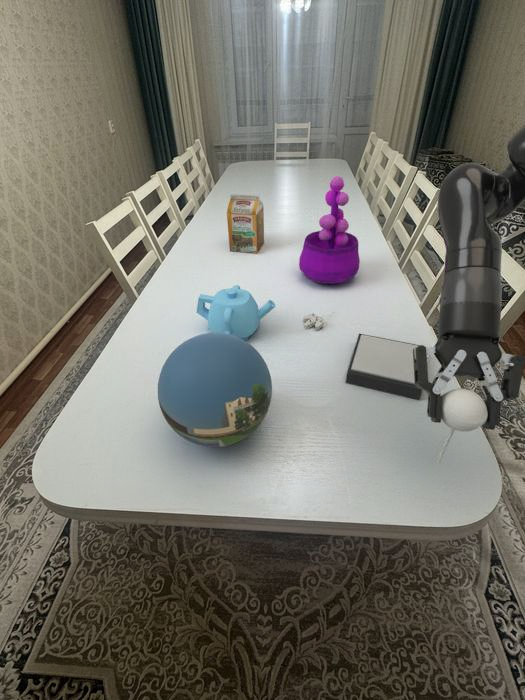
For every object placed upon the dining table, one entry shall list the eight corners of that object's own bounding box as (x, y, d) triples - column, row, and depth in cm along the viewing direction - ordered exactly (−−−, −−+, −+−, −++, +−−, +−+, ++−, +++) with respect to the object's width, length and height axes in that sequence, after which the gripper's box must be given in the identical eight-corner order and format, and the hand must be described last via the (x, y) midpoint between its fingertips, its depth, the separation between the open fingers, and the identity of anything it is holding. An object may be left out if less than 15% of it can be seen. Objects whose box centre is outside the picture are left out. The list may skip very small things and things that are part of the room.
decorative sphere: (176, 393, 76) (156, 313, 64) (268, 387, 77) (266, 307, 64) (162, 475, 61) (133, 392, 48) (277, 466, 61) (277, 382, 49)
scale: (424, 356, 84) (428, 344, 81) (422, 401, 73) (426, 388, 70) (357, 343, 88) (359, 331, 86) (345, 382, 77) (347, 370, 75)
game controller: (298, 326, 94) (298, 318, 93) (318, 307, 102) (319, 299, 100) (317, 333, 92) (317, 324, 90) (337, 313, 99) (338, 305, 97)
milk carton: (264, 242, 139) (263, 191, 128) (257, 253, 131) (255, 199, 120) (238, 240, 142) (234, 190, 130) (229, 251, 134) (225, 198, 122)
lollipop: (410, 459, 57) (435, 393, 48) (430, 439, 60) (457, 373, 51) (447, 485, 54) (482, 419, 44) (466, 463, 56) (502, 396, 47)
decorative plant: (290, 269, 121) (293, 172, 102) (339, 260, 125) (350, 166, 106) (313, 295, 107) (321, 188, 88) (368, 285, 111) (387, 181, 92)
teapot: (191, 348, 88) (184, 307, 81) (206, 311, 101) (201, 273, 94) (272, 352, 86) (272, 310, 79) (277, 314, 99) (277, 275, 92)
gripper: (422, 295, 48) (413, 420, 46) (542, 303, 46) (536, 436, 44) (409, 308, 56) (400, 417, 54) (511, 315, 53) (505, 430, 51)
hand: (462, 425), depth 49 cm, fingers closed on lollipop, 6 cm apart
